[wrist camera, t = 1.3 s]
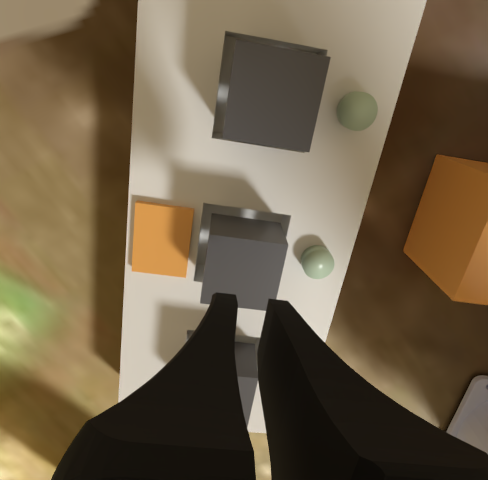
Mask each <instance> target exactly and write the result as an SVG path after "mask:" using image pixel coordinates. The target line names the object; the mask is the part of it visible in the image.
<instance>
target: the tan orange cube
mask: <svg viewBox="0 0 488 480" xmlns="http://www.w3.org/2000/svg"><path fill="white" fill-rule="evenodd" d="M403 252H404V253H405V254H406V255H407V256H408V257H409V258H410V259H411V260H412V261H413V262H414V263H415V264H416V265H417V266H418V267H419V268H420V269H421V270H422V271H423V272H424V273H425V274H426V275H427V276H428V277H429V278H430V279H431V280H432V281H433V282H434V283H435V284H436V285H437V286H438V287H439V288H440V289H441V290H442V291H443V292H445V293H446V294H447V295H448V296H449V297H450V298H451V299H452V300H453V301H458V302H466V303H474V304H482V305H488V163H487V162H481V161H474V160H468V159H462V158H456V157H450V156H444V155H438V154H437V155H436V158H435V160H434V163H433V166H432V169H431V172H430V175H429V178H428V180H427V183H426V186H425V189H424V192H423V195H422V197H421V200H420V203H419V206H418V209H417V212H416V215H415V217H414V220H413V223H412V226H411V229H410V232H409V234H408V237H407V240H406V243H405V246H404V249H403Z"/></svg>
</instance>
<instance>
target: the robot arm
mask: <svg viewBox="0 0 488 480" xmlns="http://www.w3.org/2000/svg"><path fill="white" fill-rule="evenodd" d="M237 312H238V302H237V297H236V295H235V294H227V293H218V292H216V293H214V294H213V295H212V299H211V303H210V305H209V307H208V309H207V311H206V313H205V315H204V317H203V319H202V320H201V322H200V323H199V325H198V327H197V328H196V330H195V331H194V332H193V334H192V335H191V336H190V338H189V339H188V340H187V342H186V343H185V344H184V346H183V347H182V348H181V349H180V350H179V352H178V353H177V354H176V355H175V356H174V357H173V358H172V359H171V360H170V361H169V362H168V363H167V364H166V365H165V366H164V367H163V368H162V369H161V370H160V371H159V372H158V373H157V374H156V375H154V376H153V377H152V378H151V379H150V380H149V381H147V382H146V383H145V384H144V385H142V386H141V387H140V388H138V389H137V390H135V391H134V392H133V393H131V394H130V395H129V396H127V397H126V398H125V399H123V400H122V401H120V402H119V403H117V404H116V405H114V406H112V407H111V408H109V409H108V410H106V411H104V412H103V413H101V414H99V415H98V416H96V417H94V418H92V419H90V420H88V421H87V422H86V423H85V424H84V426H83V427H82V429H81V430H80V431H79V433H78V434H77V436H76V437H75V439H74V440H73V442H72V443H71V445H70V446H69V448H68V449H67V451H66V453H65V454H64V456H63V458H62V460H61V461H60V463H59V465H58V467H57V468H56V470H55V472H54V474H53V477H52V479H51V480H256V475H255V461H254V451H253V447H252V444H251V441H250V437H249V433H248V429H247V425H246V421H245V417H244V413H243V408H242V402H241V397H240V392H239V385H238V377H237V370H236V360H235V334H236V323H237ZM257 362H258V383H259V390H260V396H261V403H262V409H263V415H264V421H265V427H266V433H267V440H268V446H269V453H270V462H271V476H272V480H488V376H484V375H479V376H476V377H475V378H473V380H472V381H471V383H470V385H469V387H468V389H467V391H466V393H465V395H464V397H463V399H462V401H461V403H460V405H459V407H458V409H457V411H456V413H455V415H454V417H453V419H452V421H451V423H450V425H449V427H448V429H447V431H446V432H445V431H443V430H441V429H439V428H437V427H435V426H434V425H432V424H430V423H429V422H427V421H425V420H424V419H422V418H420V417H418V416H417V415H415V414H413V413H412V412H410V411H409V410H407V409H406V408H404V407H402V406H401V405H399V404H398V403H396V402H395V401H394V400H392V399H391V398H389V397H388V396H386V395H385V394H384V393H382V392H381V391H379V390H378V389H377V388H375V387H374V386H373V385H371V384H370V383H369V382H367V381H366V380H365V379H364V378H363V377H361V376H360V375H359V374H358V373H356V372H355V371H354V370H353V369H352V368H350V367H349V366H348V365H347V364H346V363H345V362H344V361H343V360H342V359H341V358H340V357H339V356H338V355H337V354H336V353H334V352H333V351H332V350H331V349H330V348H329V347H328V346H327V345H326V343H325V342H324V341H323V340H322V339H321V338H320V337H319V336H318V335H317V334H316V333H315V332H314V331H313V329H312V328H311V327H310V326H309V325H308V324H307V322H306V321H305V320H304V319H303V318H302V317H301V315H300V314H299V313H298V312H297V311H296V309H295V308H294V307H293V306H292V305H291V304H290V303H289V301H285V300H277V299H269V300H268V304H267V309H266V313H265V318H264V323H263V327H262V332H261V337H260V341H259V346H258V350H257Z"/></svg>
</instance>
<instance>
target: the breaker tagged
mask: <svg viewBox="0 0 488 480" xmlns="http://www.w3.org/2000/svg"><path fill="white" fill-rule="evenodd" d="M287 249H288V242H287V239H286V237H285V234H284V231H283V229H282V226H281V223H279V222H272V221H265V220H258V219H250V218H243V217H236V216H229V215H222V214H214V213H212V214H211V222H210V229H209V236H208V243H207V251H206V258H205V265H204V273H203V281H202V289H201V298H200V303H202V304H210V303H211V299H212V295H213V294H214V293H216V292H218V293H227V294H235V295H236V297H237V302H238V308H245V309H254V310H262V311H266V309H267V304H268V300H269V299H276V298H277V294H278V289H279V285H280V280H281V276H282V272H283V267H284V263H285V258H286V254H287Z"/></svg>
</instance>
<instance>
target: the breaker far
mask: <svg viewBox="0 0 488 480" xmlns="http://www.w3.org/2000/svg"><path fill="white" fill-rule="evenodd" d="M235 360H236V370H237V377H238V385H239V392H240V397H241V402H242V408H243V413H244V417H245V421H246V425H247V427H248V423H249V418H250V414H251V409H252V405H253V400H254V396H255V391H256V387H257V383H258V370H257V360H256V351H255V344H253V343H243V342H235Z"/></svg>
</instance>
